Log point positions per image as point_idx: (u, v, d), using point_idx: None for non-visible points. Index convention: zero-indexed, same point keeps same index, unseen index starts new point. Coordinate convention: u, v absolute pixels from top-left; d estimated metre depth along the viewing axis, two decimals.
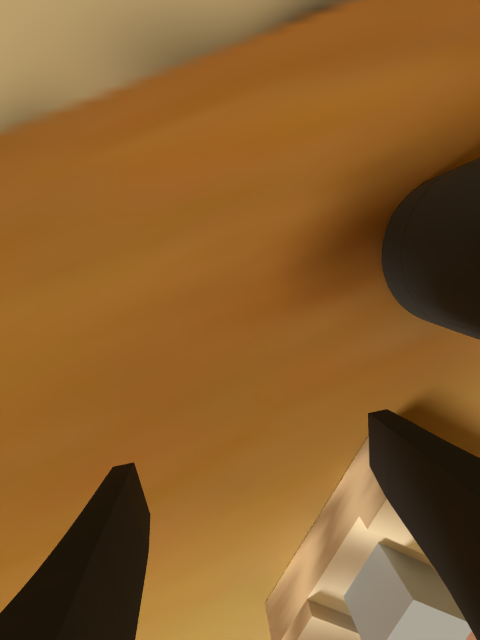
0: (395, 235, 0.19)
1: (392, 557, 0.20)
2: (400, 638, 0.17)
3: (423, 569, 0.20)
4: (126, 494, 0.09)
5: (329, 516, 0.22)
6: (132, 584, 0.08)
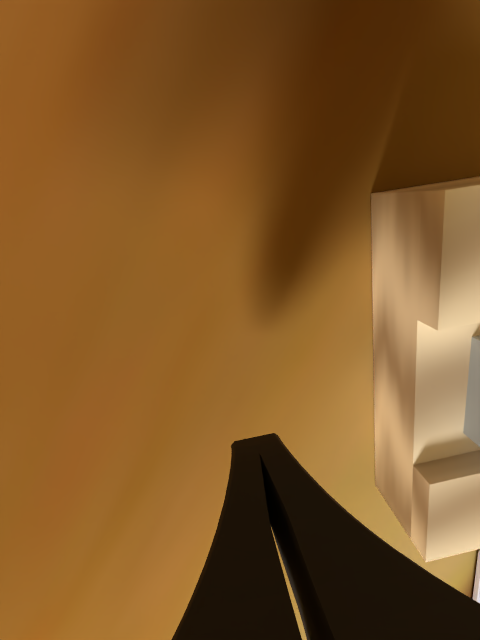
0: None
1: None
2: None
3: None
4: (261, 465, 0.09)
5: (383, 347, 0.14)
6: None
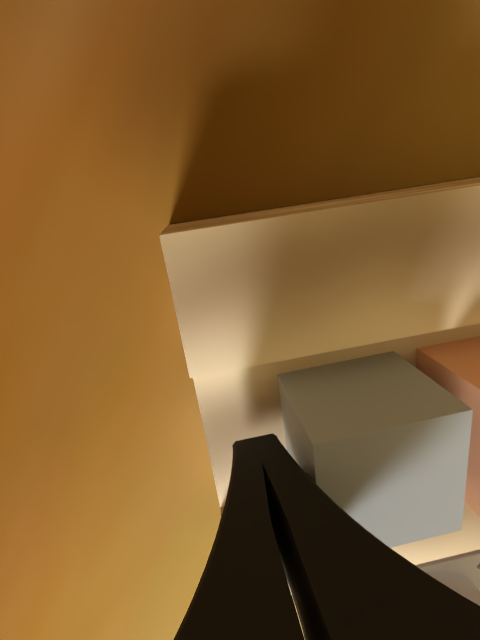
0: None
1: (299, 384, 0.11)
2: (343, 508, 0.09)
3: (370, 367, 0.11)
4: (262, 464, 0.09)
5: None
6: None
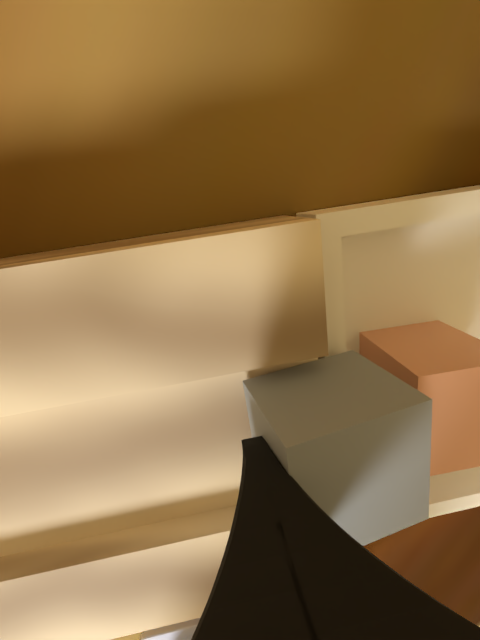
0: None
1: (265, 388, 0.10)
2: None
3: (333, 366, 0.11)
4: None
5: None
6: None
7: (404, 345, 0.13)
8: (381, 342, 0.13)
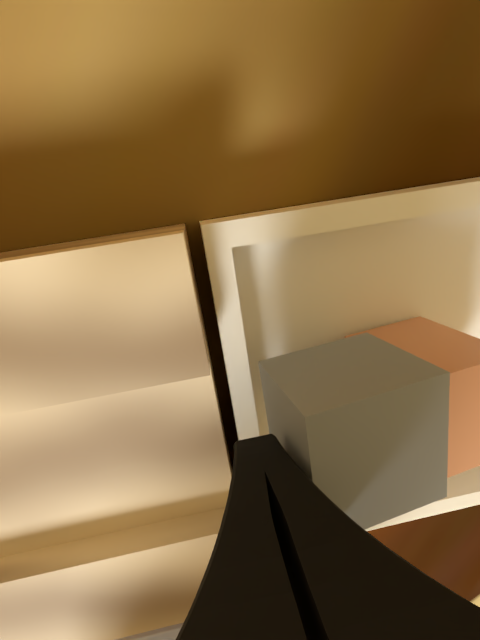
0: None
1: (281, 367, 0.11)
2: (336, 484, 0.09)
3: (348, 347, 0.11)
4: None
5: None
6: None
7: None
8: None
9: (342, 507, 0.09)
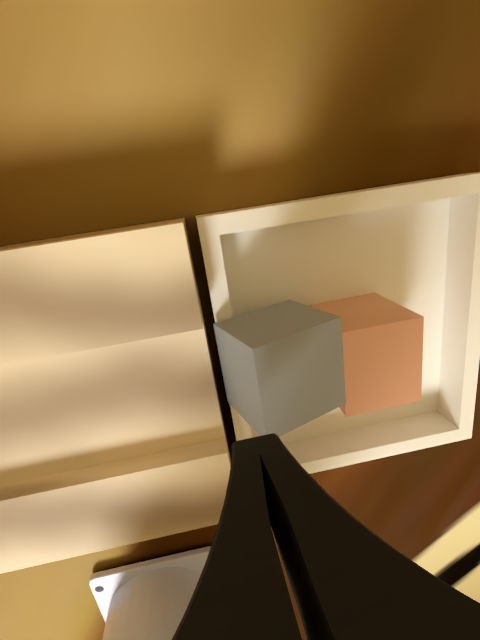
0: None
1: (231, 325, 0.14)
2: (275, 396, 0.13)
3: (276, 309, 0.16)
4: (261, 464, 0.09)
5: None
6: None
7: (339, 312, 0.16)
8: None
9: (279, 413, 0.13)
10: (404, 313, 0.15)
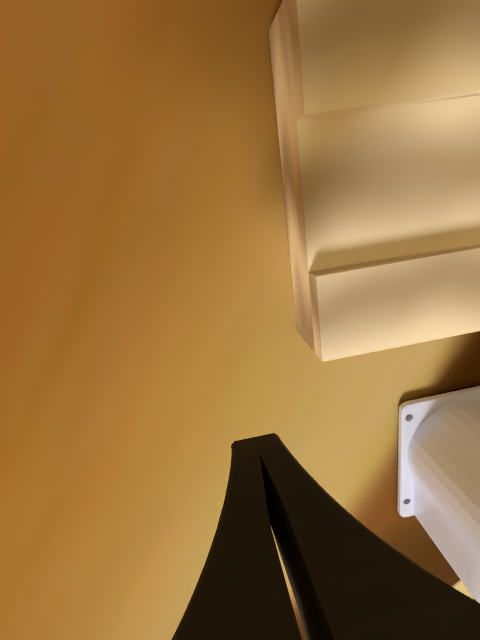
0: None
1: None
2: None
3: None
4: (261, 464, 0.09)
5: (287, 177, 0.16)
6: None
7: None
8: None
9: None
10: None
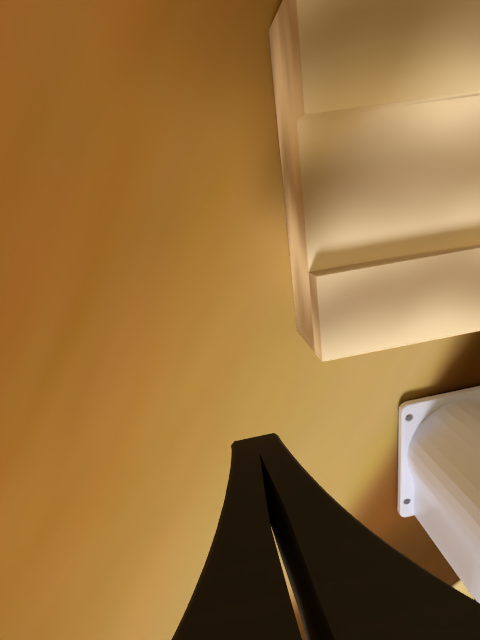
0: None
1: None
2: None
3: None
4: (261, 464, 0.09)
5: (287, 177, 0.16)
6: None
7: None
8: None
9: None
10: None
